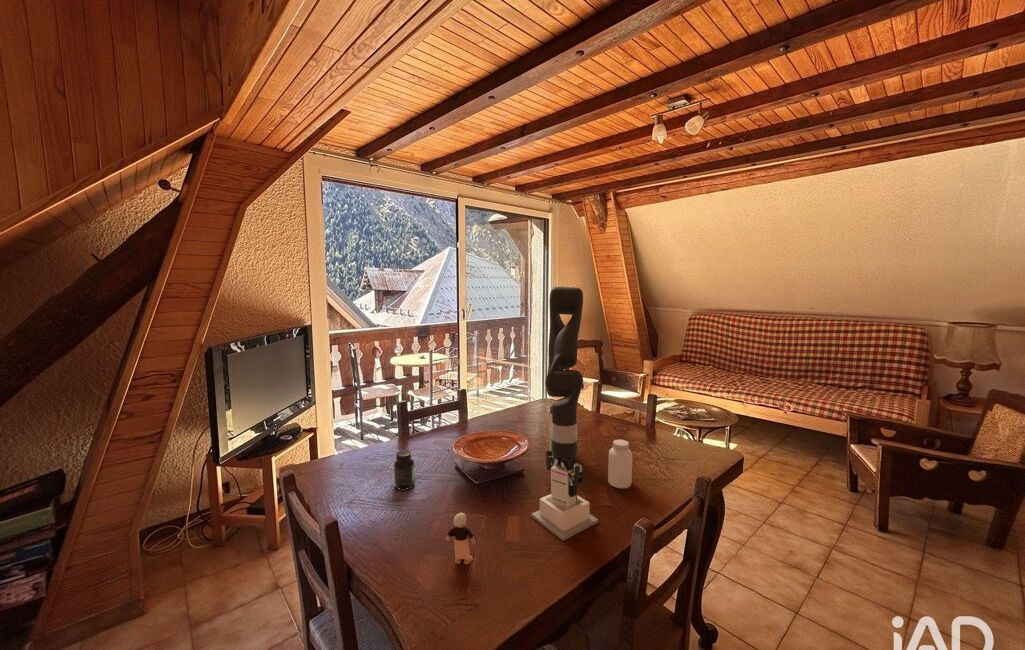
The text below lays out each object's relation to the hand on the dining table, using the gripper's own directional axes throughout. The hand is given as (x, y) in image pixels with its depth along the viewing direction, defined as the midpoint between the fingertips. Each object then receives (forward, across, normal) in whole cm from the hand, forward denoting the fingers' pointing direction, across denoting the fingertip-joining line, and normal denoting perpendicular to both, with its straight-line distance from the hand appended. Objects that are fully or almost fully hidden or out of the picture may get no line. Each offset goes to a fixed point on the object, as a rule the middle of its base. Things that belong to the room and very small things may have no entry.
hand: (564, 490), depth 119 cm
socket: (+9, 0, 0) cm, 9 cm away
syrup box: (+7, 0, 0) cm, 7 cm away
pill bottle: (+9, -4, +30) cm, 32 cm away
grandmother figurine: (+9, -3, -33) cm, 34 cm away
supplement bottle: (+9, -48, -31) cm, 58 cm away
